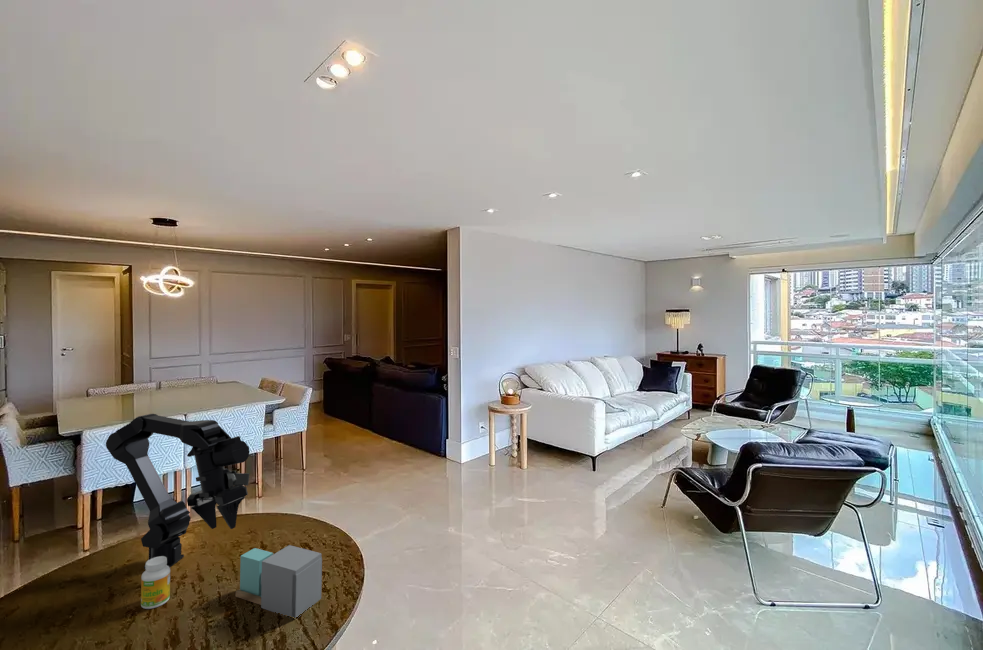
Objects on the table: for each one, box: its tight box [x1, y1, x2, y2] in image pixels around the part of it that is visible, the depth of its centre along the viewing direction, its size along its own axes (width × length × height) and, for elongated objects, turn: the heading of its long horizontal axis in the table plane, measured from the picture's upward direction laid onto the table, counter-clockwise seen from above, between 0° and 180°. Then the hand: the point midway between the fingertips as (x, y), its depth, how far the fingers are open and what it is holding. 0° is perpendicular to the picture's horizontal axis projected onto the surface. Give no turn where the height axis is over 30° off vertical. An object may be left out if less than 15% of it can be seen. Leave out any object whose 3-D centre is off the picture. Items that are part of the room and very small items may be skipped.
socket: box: [260, 544, 323, 618], centre depth 103 cm, size 10×8×11 cm
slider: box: [239, 547, 274, 597], centre depth 107 cm, size 8×4×9 cm, turn 70°
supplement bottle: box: [140, 556, 171, 610], centre depth 102 cm, size 5×5×10 cm
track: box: [235, 589, 261, 606], centre depth 106 cm, size 9×6×1 cm
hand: (223, 528), depth 115 cm, fingers open, 9 cm apart
